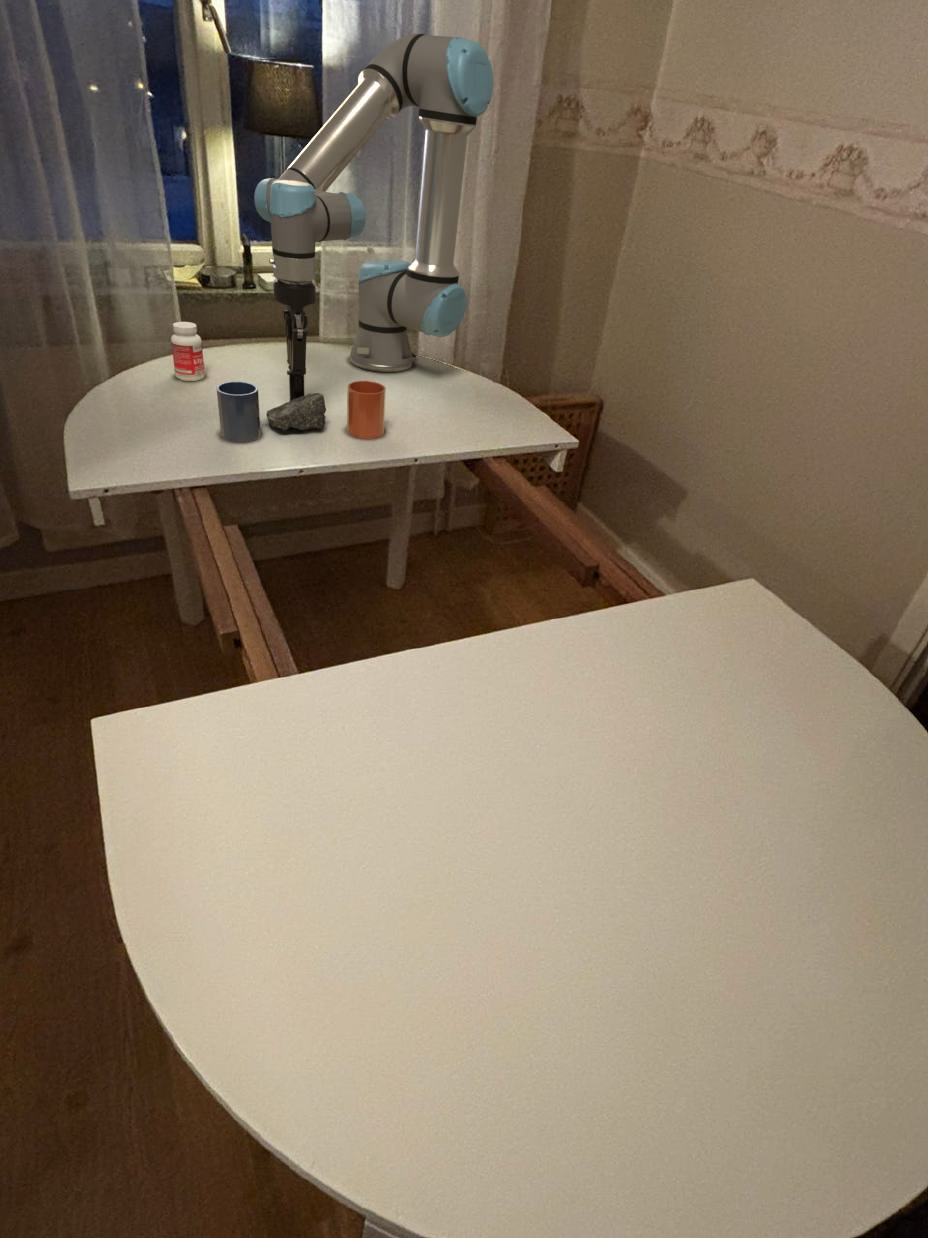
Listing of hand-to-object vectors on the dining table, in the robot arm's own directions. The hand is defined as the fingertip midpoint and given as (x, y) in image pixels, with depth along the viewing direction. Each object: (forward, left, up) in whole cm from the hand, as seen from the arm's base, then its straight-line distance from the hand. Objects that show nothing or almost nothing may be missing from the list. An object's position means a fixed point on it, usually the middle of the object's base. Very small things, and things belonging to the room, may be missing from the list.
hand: (297, 404), depth 148 cm
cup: (+12, +8, -3) cm, 15 cm away
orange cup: (-12, +8, -3) cm, 15 cm away
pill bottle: (+20, -24, -3) cm, 31 cm away
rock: (+1, +5, -3) cm, 6 cm away
